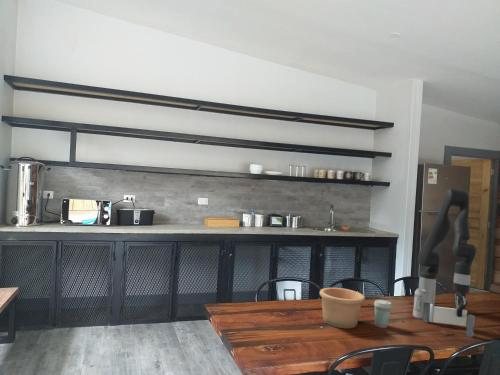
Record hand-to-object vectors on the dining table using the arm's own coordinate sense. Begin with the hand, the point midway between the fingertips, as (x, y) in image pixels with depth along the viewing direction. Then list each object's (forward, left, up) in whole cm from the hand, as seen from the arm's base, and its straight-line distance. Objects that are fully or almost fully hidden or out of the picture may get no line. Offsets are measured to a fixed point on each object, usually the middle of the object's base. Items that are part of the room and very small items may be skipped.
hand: (459, 316), depth 193 cm
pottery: (-37, -49, -7) cm, 62 cm away
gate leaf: (-5, -1, -5) cm, 7 cm away
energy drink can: (-19, -2, -6) cm, 21 cm away
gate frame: (-3, -6, -6) cm, 9 cm away
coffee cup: (-23, -34, -6) cm, 42 cm away
